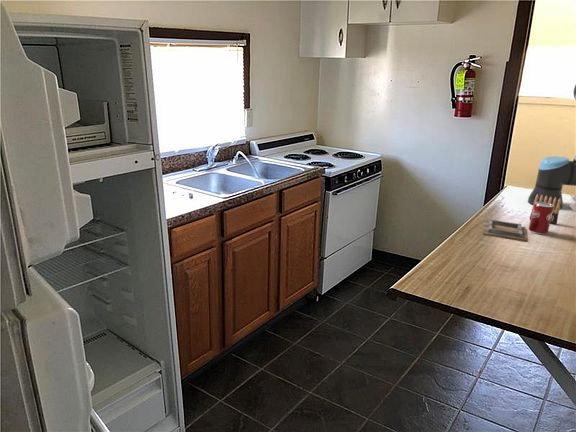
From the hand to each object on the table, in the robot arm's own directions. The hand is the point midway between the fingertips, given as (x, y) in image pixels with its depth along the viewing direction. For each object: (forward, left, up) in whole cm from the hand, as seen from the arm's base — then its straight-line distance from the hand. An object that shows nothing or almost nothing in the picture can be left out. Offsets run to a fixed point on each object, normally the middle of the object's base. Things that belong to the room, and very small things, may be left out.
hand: (572, 204), depth 189 cm
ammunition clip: (-17, -7, -14) cm, 23 cm away
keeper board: (+5, -23, -14) cm, 27 cm away
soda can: (-2, -10, -14) cm, 17 cm away
